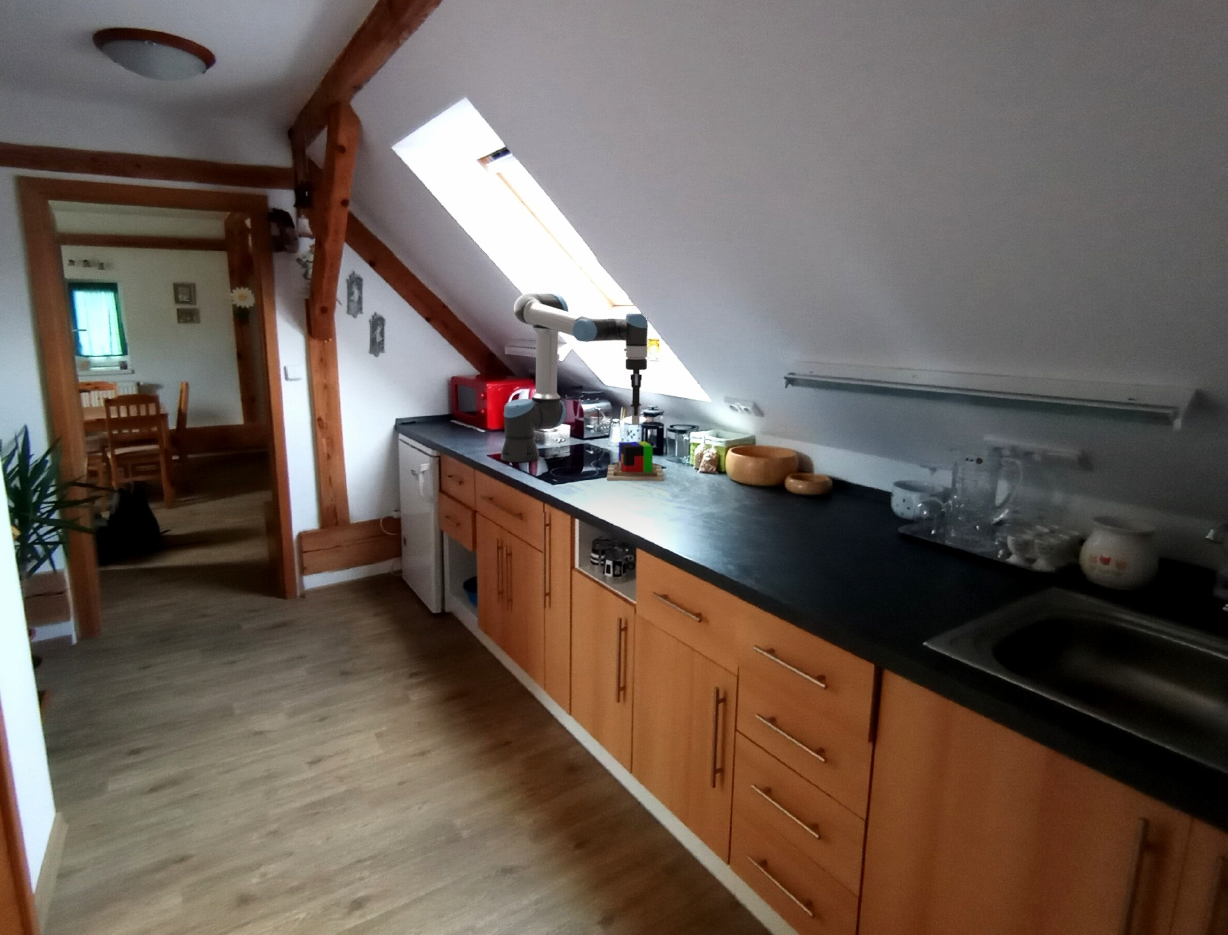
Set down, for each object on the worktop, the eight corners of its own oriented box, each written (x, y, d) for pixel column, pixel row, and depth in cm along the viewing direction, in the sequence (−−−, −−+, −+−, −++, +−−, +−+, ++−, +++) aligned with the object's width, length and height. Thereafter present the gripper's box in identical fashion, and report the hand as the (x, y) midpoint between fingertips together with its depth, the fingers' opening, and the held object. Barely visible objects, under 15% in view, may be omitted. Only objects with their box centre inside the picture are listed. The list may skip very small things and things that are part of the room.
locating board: (608, 467, 265) (608, 462, 265) (661, 468, 265) (661, 462, 264) (606, 480, 246) (606, 474, 245) (663, 480, 245) (663, 474, 245)
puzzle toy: (618, 468, 259) (618, 442, 256) (644, 467, 261) (645, 441, 259) (625, 475, 249) (625, 447, 247) (652, 473, 251) (652, 446, 249)
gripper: (625, 356, 252) (625, 421, 258) (625, 359, 240) (625, 427, 245) (646, 357, 252) (645, 421, 257) (647, 359, 240) (646, 427, 245)
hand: (635, 424), depth 251 cm, fingers closed
